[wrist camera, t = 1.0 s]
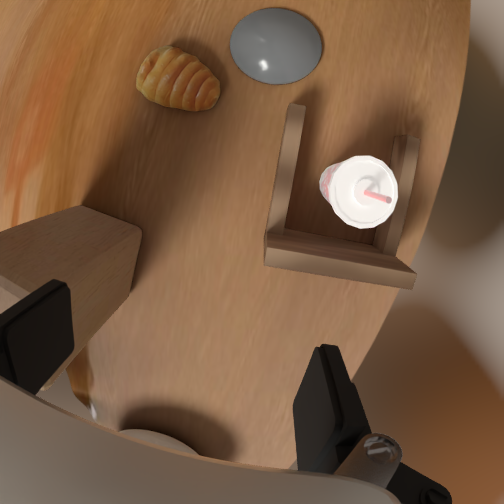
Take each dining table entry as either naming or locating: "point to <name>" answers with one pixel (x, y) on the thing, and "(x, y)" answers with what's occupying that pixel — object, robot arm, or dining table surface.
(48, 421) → the robot arm
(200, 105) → the pastry
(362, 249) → the rack
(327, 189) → the beverage cup
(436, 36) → the dining table surface
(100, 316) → the block
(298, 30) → the coaster
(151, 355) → the dining table surface
